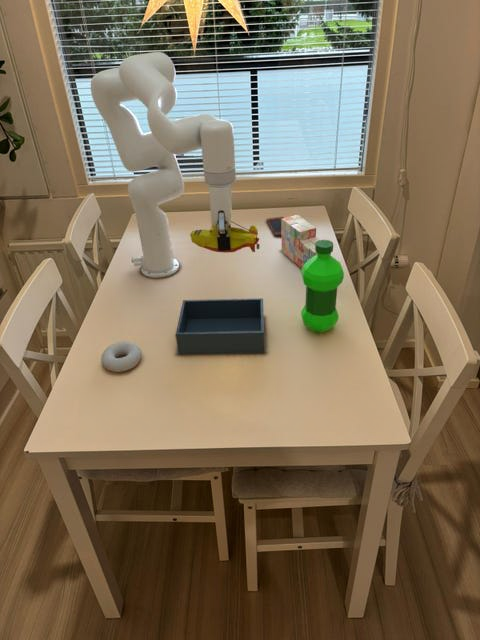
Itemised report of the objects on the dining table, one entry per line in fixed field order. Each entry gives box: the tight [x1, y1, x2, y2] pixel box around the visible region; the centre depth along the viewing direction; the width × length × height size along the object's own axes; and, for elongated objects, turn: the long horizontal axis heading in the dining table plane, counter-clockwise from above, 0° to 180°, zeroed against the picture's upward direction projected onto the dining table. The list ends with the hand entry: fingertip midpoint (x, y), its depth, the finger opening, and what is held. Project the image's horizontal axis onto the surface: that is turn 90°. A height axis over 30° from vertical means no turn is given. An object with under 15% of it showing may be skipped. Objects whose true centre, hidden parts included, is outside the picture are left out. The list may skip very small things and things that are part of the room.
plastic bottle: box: [300, 239, 345, 334], centre depth 122 cm, size 10×10×25 cm
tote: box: [175, 297, 265, 355], centre depth 126 cm, size 22×15×7 cm
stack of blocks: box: [281, 214, 332, 269], centre depth 155 cm, size 21×6×12 cm, turn 23°
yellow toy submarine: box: [189, 220, 260, 254], centre depth 122 cm, size 6×18×10 cm, turn 80°
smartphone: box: [266, 216, 285, 237], centre depth 180 cm, size 7×1×15 cm
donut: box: [101, 341, 142, 373], centre depth 120 cm, size 10×4×10 cm
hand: (224, 243), depth 124 cm, fingers closed on yellow toy submarine, 6 cm apart
